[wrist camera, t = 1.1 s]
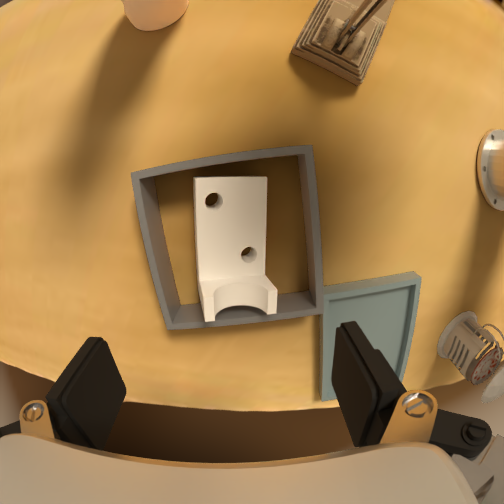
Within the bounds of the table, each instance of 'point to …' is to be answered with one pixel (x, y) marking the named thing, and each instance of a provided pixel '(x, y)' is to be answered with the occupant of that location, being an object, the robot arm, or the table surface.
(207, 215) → the bracket
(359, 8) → the banker's lamp
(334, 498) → the robot arm
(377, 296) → the tray
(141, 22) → the water bottle
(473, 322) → the french press
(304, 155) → the bin
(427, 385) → the table surface
